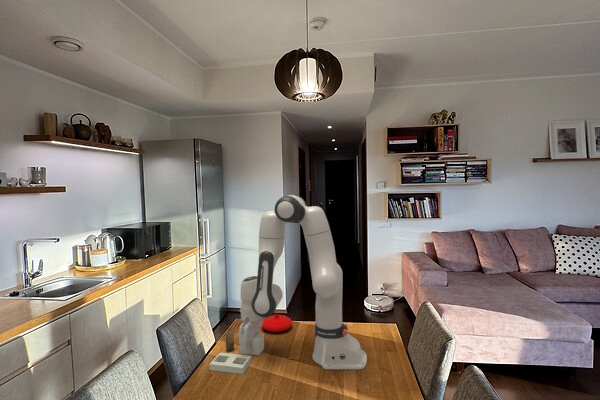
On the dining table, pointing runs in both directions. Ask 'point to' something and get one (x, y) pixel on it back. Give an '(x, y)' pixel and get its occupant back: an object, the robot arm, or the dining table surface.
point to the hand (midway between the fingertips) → (251, 344)
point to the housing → (254, 345)
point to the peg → (229, 341)
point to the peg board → (230, 363)
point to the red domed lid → (277, 323)
